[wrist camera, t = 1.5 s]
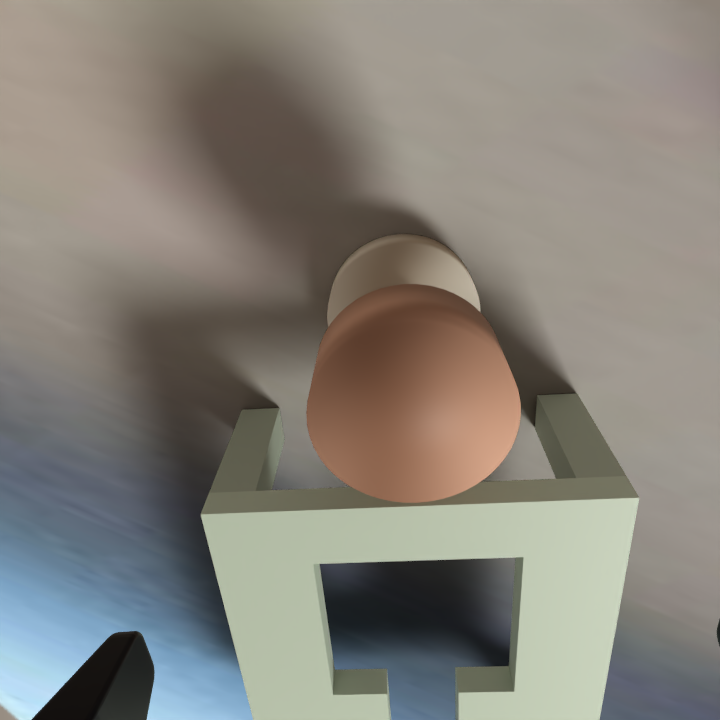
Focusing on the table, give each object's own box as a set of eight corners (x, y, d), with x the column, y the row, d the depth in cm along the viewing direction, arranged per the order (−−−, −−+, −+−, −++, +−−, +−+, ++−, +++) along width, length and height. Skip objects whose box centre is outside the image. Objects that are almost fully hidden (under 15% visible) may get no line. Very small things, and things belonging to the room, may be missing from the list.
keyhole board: (577, 393, 22) (639, 497, 17) (545, 691, 30) (580, 825, 25) (241, 409, 23) (200, 514, 18) (297, 696, 31) (280, 827, 26)
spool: (476, 228, 20) (526, 315, 13) (474, 365, 22) (516, 499, 15) (322, 239, 20) (294, 328, 13) (336, 373, 22) (318, 506, 16)
